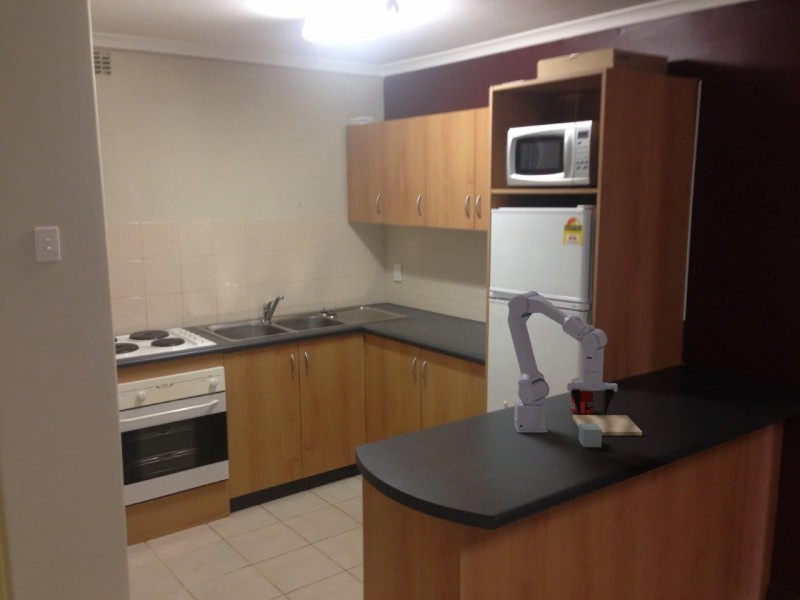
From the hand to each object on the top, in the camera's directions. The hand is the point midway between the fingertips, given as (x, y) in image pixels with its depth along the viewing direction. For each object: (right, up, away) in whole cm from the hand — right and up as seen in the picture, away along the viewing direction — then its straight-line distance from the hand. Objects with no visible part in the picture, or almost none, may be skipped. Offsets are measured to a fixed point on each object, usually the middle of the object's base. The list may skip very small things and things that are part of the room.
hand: (591, 413), depth 214 cm
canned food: (+5, -4, +31) cm, 32 cm away
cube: (0, -9, +2) cm, 10 cm away
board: (+9, -7, +16) cm, 20 cm away
